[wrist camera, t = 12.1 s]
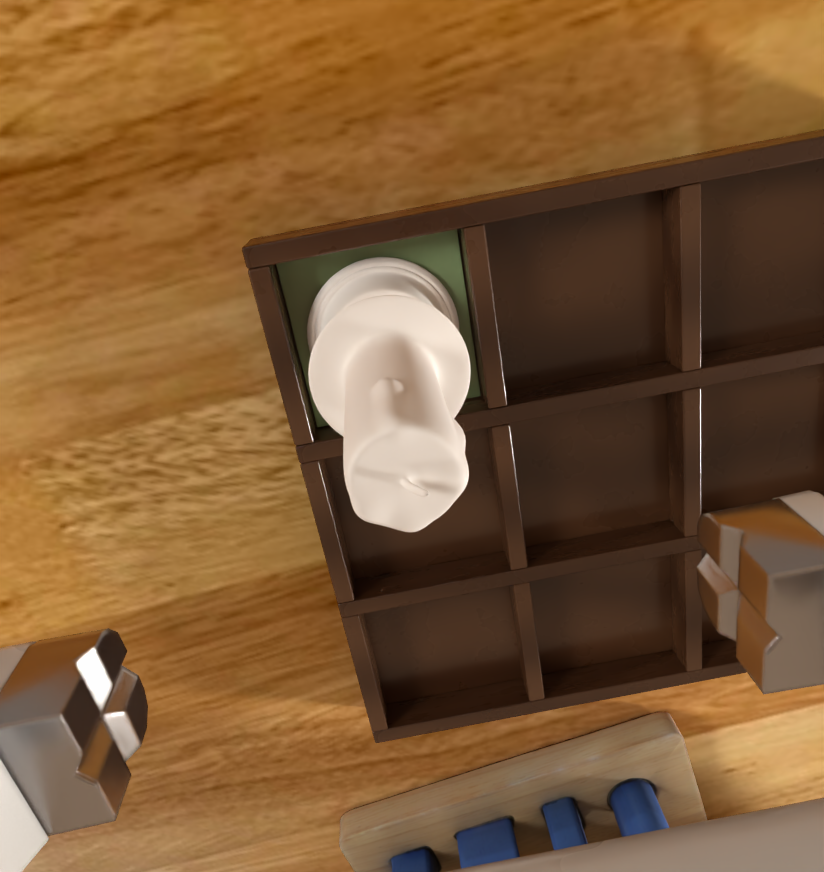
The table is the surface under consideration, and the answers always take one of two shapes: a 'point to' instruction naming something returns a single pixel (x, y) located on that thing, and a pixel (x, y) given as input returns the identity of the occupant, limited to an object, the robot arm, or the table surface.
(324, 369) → the white turned post
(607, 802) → the peg board
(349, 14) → the table surface
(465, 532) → the grid board
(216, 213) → the table surface
